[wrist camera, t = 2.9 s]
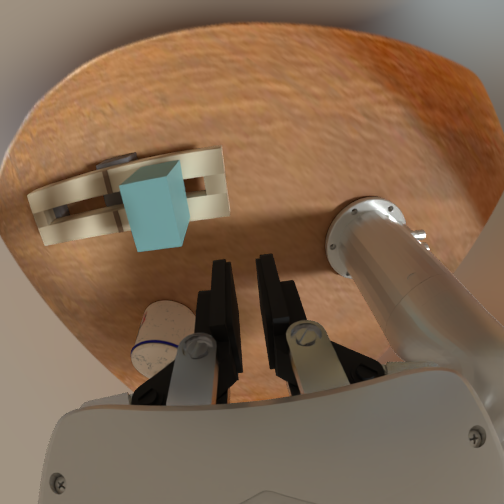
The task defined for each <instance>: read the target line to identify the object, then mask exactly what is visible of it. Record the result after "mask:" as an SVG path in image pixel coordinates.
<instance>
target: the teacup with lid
mask: <svg viewBox="0 0 504 504" xmlns="http://www.w3.org/2000/svg"><path fill="white" fill-rule="evenodd" d="M195 318H196V317H195V315H194V314H193V312H192V311H191V310H190V309H189V308H187V307H186V306H184V305H182V304H180V303H178V302H174V301H167V300H164V301H157V302H154V303H152V304H151V305H149V306H148V307H147V308H146V310H145V312H144V315H143V318H142V321H141V325H140V328H139V332H138V335H137V339H136V342H135V346H134V347H133V348H132V350H131V360H132V363H133V365H134V367H135V368H136V369H137V370H138V371H139V372H140V373H141V374H143V375H144V376H146V377H148V378H151V377H153V376H154V375H155V374H157V373H158V372H159V371H161V370H162V369H163V368H165V367H166V366H167V365H169V364H170V363H171V362H172V361H174V360H175V358H176V354H177V349H178V346H179V343H180V342H181V341H182V340H183V339H184V338H185V337H186V336H188V335H191V334H193V333H194V328H195Z"/></svg>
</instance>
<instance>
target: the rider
mask: <svg viewBox="0 0 504 504" xmlns="http://www.w3.org/2000/svg"><path fill="white" fill-rule="evenodd" d="M119 188H120V192H121V196H122V200H123V204H124V207H125V211H126V214H127V218H128V221H129V225H130V228H131V232H132V235H133V238H134V241H135V245H136V248H137V251H138V252H143V251H150V250H158V249H165V248H173V247H180V246H182V244H183V241H184V237H185V234H186V230H187V227H188V223H189V220H190V213H189V208H188V203H187V198H186V192H185V187H184V181H183V176H182V170H181V164H180V160H176V161H170V162H165V163H160V164H154V165H150V166H145V167H140V168H139V169H138V170H137V171H136V172H134V173H133V174H132V175H131V176H130V177H129V178H127V179H126V180H125V181H124V182H123V183H122V184H120V185H119Z"/></svg>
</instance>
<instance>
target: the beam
mask: <svg viewBox="0 0 504 504" xmlns="http://www.w3.org/2000/svg"><path fill="white" fill-rule="evenodd" d="M176 160H180V164H181V170H182V176H183V179H188V178H195V177H202V176H204V182H205V188H206V190H200V191H193V192H186V198H187V203H188V208H189V213H190V220H189V221H196V220H203V219H211V218H218V217H226V216H230V206H229V199H228V191H227V183H226V176H225V168H224V160H223V152H222V145H218V146H211V147H204V148H198V149H191V150H185V151H179V152H174V153H169V154H163V155H158V156H153V157H148V158H144V159H139V160H137V155H136V152H135V153H131V154H127V155H122V156H118V157H115V158H111V159H107V160H105V161H103V162H101V163H100V164H98V165H96V169H97V170H95V171H91V172H88V173H84V174H81V175H78V176H74V177H71V178H68V179H65V180H62V181H59V182H56V183H53V184H50V185H47V186H44V187H41V188H38V189H36V190H34V191H32V192H31V193H29V194H28V195H27V198H28V201H29V204H30V207H31V210H32V213H33V216H34V219H35V222H36V224H37V227H38V230H39V232H40V235H41V238H42V240H43V243H44V245H45V246H47V245H52V244H57V243H62V242H67V241H73V240H78V239H83V238H89V237H94V236H100V235H106V234H111V233H117V232H124V231H129V230H131V228H130V225H129V221H128V218H127V214H126V211H125V207H124V204H123V200H122V196H121V192H120V188H119V185H120V184H122V183H123V182H124V181H125V180H126V179H127V178H129V177H130V176H131V175H132V174H133V173H134V172H136V171H137V170H138V169H139V168H140V167H145V166H150V165H154V164H160V163H165V162H170V161H176ZM101 195H103V196H104V200H105V203H106V207H104V208H100V209H95V210H91V211H86V212H82V213H78V214H74V215H70V213H69V210H68V207H67V204H69V203H73V202H77V201H81V200H85V199H89V198H93V197H97V196H101Z"/></svg>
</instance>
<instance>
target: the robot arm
mask: <svg viewBox="0 0 504 504" xmlns="http://www.w3.org/2000/svg"><path fill="white" fill-rule="evenodd" d="M424 238H425V231H424V230H415V231H412V230H411V229H410V228H409V227H408V226H407V225H406V221H405V218H404V216H403V214H402V212H401V211H400V209H399V208H398V207H397V206H396V205H395V204H393V203H392V202H390V201H389V200H387V199H384V198H381V197H366V198H362V199H359V200H357V201H354V202H352V203H351V204H349V205H348V206H346V207H345V208H344V209H343V210H342V211H341V212H340V213H339V214H338V215H337V216H336V218H335V219H334V220H333V222H332V224H331V226H330V228H329V230H328V233H327V236H326V242H325V250H326V255H327V258H328V261H329V262H330V264H331V266H332V267H333V269H334V270H335V271H336V272H337V273H338V274H340V275H341V276H343V277H345V278H349V279H353V280H354V282H355V284H356V285H357V287H358V289H359V290H360V292H361V294H362V296H363V297H364V299H365V301H366V302H367V304H368V306H369V308H370V309H371V311H372V313H373V315H374V316H375V318H376V320H377V322H378V324H379V325H380V327H381V329H382V331H383V333H384V334H385V336H386V338H387V340H388V342H389V344H390V346H391V347H392V349H393V350H394V352H395V353H396V354H397V355H398V356H399V357H400V358H401V359H402V360H404V361H406V362H387V363H386V365H381V364H380V363H379V362H377V361H376V360H374V359H372V358H369V357H367V356H365V355H362V354H360V353H358V352H355V351H353V350H351V349H348V348H346V347H344V346H341V345H339V344H337V343H335V342H332V341H330V339H329V337H328V335H327V333H326V331H325V329H324V328H323V326H322V325H320V324H319V323H317V322H315V321H311V320H307V319H306V315H305V312H304V309H303V306H302V303H301V300H300V297H299V294H298V291H297V288H296V285H295V282H294V281H293V280H290V281H282V282H280V280H279V276H278V272H277V269H276V265H275V261H274V258H273V254H264V255H260V258H258V259H256V269H257V279H258V289H259V299H260V308H261V315H262V321H263V328H264V334H265V341H266V347H267V353H268V360H269V366H270V369H275V372H276V376H278V377H280V378H282V379H283V380H285V381H286V385H287V388H288V392H289V395H290V397H283V398H276V399H269V400H261V401H252V402H242V403H230V387H231V386H232V385H233V384H234V383H235V382H236V380H239V379H238V373H243V366H242V353H241V338H240V324H239V311H238V304H237V298H236V292H235V286H234V280H233V274H232V267H231V262H226V260H225V259H222V260H214V261H213V267H212V282H211V290H207V291H199V293H198V300H197V309H196V318H195V328H194V333H193V334H191V335H188V336H186V337H185V338H184V339H183V340H182V341H181V342H180V343H179V346H178V349H177V354H176V358H175V360H174V361H172V362H171V363H170V364H169V365H167V366H166V367H165V368H163V369H162V370H161V371H159V372H158V373H157V374H155V375H154V376H153V377H151V378H150V379H149V380H147V381H146V382H145V383H143V384H142V385H141V386H139V387H138V388H137V389H136V390H135V391H134V393H133V394H130V395H129V394H128V392H127V393H123V394H118V395H114V396H110V397H105V398H101V399H96V400H91V401H88V402H85V403H84V404H83V405H82V406H81V407H80V408H79V409H75V410H73V411H70V412H68V413H66V414H65V415H64V416H62V417H61V418H60V420H59V421H58V422H57V424H56V426H55V428H54V430H53V433H52V435H51V438H50V441H49V444H48V448H47V451H46V456H45V460H44V464H43V471H42V477H41V484H40V491H39V500H38V504H504V327H503V326H502V325H501V324H500V323H499V322H498V321H497V320H496V319H495V318H494V317H493V316H492V315H491V314H490V313H488V311H486V309H485V308H484V307H483V306H482V305H481V304H480V303H479V302H478V301H477V300H476V299H475V298H474V297H473V296H472V294H471V293H469V291H468V290H467V289H466V288H465V287H464V286H463V285H462V284H461V283H460V281H459V280H458V279H456V277H455V276H454V275H453V274H452V273H451V272H450V271H449V270H448V269H447V268H446V267H445V266H444V265H443V264H442V263H441V262H440V261H439V260H438V259H437V258H436V257H435V256H434V255H433V254H432V253H431V252H430V251H429V246H428V244H427V243H426V242H423V243H421V242H420V241H419V240H421V239H424Z"/></svg>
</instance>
